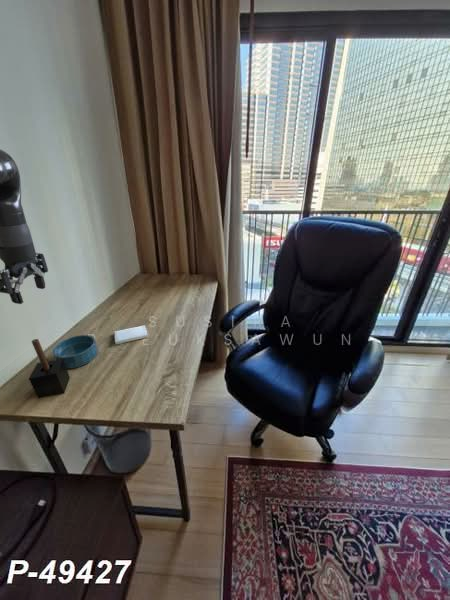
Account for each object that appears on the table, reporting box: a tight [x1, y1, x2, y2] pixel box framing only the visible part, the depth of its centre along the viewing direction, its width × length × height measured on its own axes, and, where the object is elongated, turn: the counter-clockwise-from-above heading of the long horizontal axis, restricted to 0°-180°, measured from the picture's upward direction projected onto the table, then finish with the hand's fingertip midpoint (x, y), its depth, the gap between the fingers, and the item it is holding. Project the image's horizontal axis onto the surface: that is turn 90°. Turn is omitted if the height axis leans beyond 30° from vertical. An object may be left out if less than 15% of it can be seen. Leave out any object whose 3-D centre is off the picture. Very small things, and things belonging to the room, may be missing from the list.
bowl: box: [52, 334, 99, 369], centre depth 90 cm, size 13×13×6 cm
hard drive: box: [114, 325, 149, 345], centre depth 104 cm, size 2×8×12 cm
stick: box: [31, 338, 50, 371], centre depth 75 cm, size 2×2×18 cm
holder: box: [28, 359, 71, 399], centre depth 77 cm, size 7×7×8 cm
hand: (30, 295), depth 71 cm, fingers open, 8 cm apart
